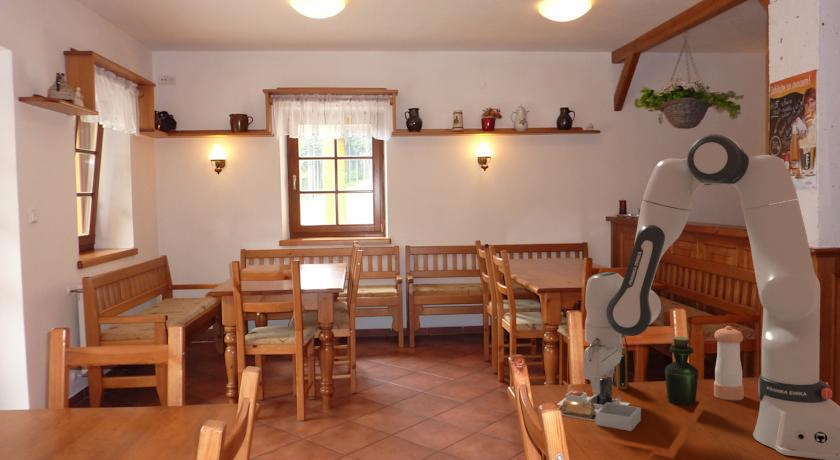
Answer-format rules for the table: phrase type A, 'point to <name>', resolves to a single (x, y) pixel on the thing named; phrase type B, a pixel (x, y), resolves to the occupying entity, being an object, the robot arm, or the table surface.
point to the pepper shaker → (728, 365)
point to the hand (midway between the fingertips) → (602, 388)
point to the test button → (576, 393)
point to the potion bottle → (681, 375)
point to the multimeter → (622, 371)
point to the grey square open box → (618, 416)
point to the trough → (578, 416)
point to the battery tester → (589, 400)
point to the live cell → (578, 409)
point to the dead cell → (605, 391)
